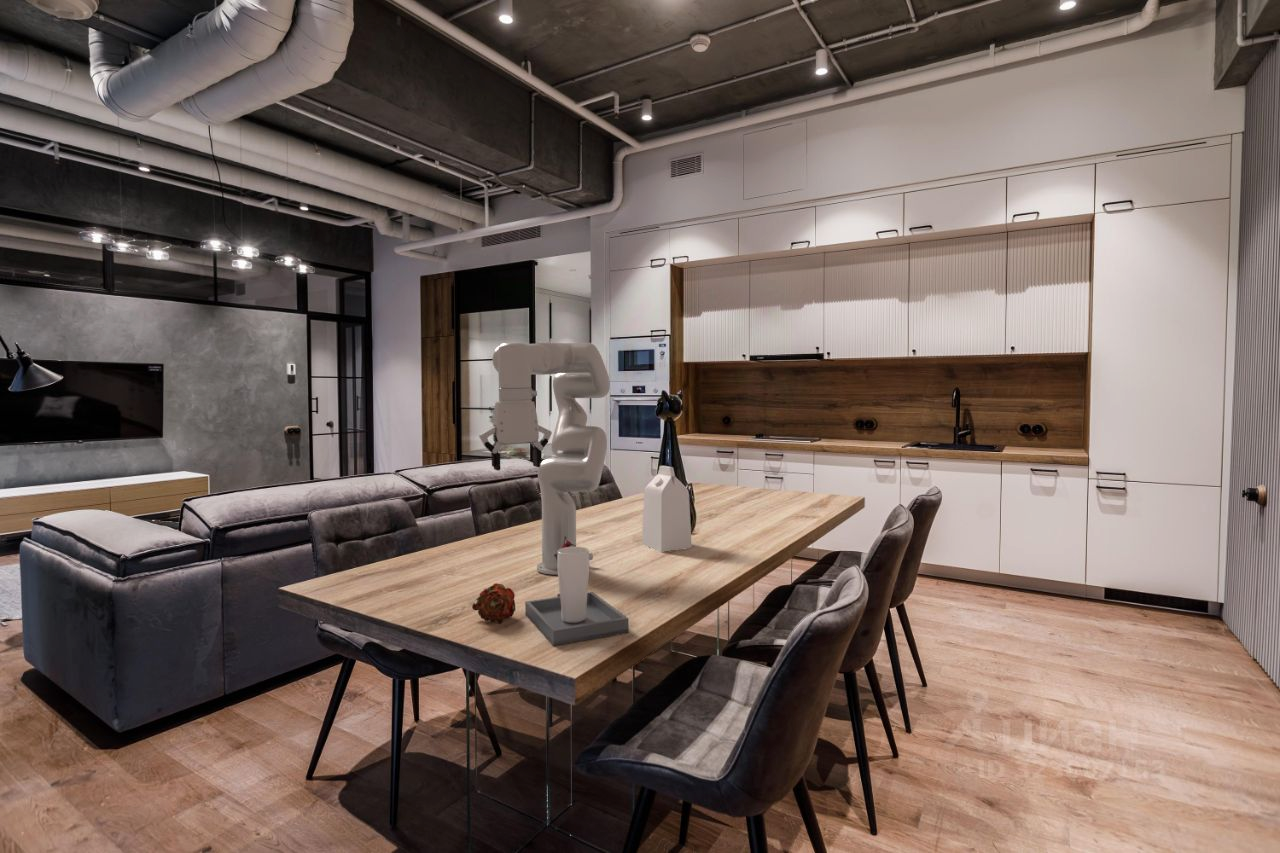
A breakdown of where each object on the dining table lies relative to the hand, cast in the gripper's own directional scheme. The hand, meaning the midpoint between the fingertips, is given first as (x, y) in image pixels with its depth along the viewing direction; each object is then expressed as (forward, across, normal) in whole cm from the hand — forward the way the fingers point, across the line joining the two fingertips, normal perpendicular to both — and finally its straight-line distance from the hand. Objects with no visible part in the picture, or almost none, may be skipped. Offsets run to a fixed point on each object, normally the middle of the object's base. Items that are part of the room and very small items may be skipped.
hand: (517, 468), depth 152 cm
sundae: (+32, -11, +4) cm, 34 cm away
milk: (+34, -58, -29) cm, 73 cm away
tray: (+31, -5, +23) cm, 39 cm away
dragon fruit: (+31, +10, +12) cm, 35 cm away
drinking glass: (+31, -5, +22) cm, 38 cm away
